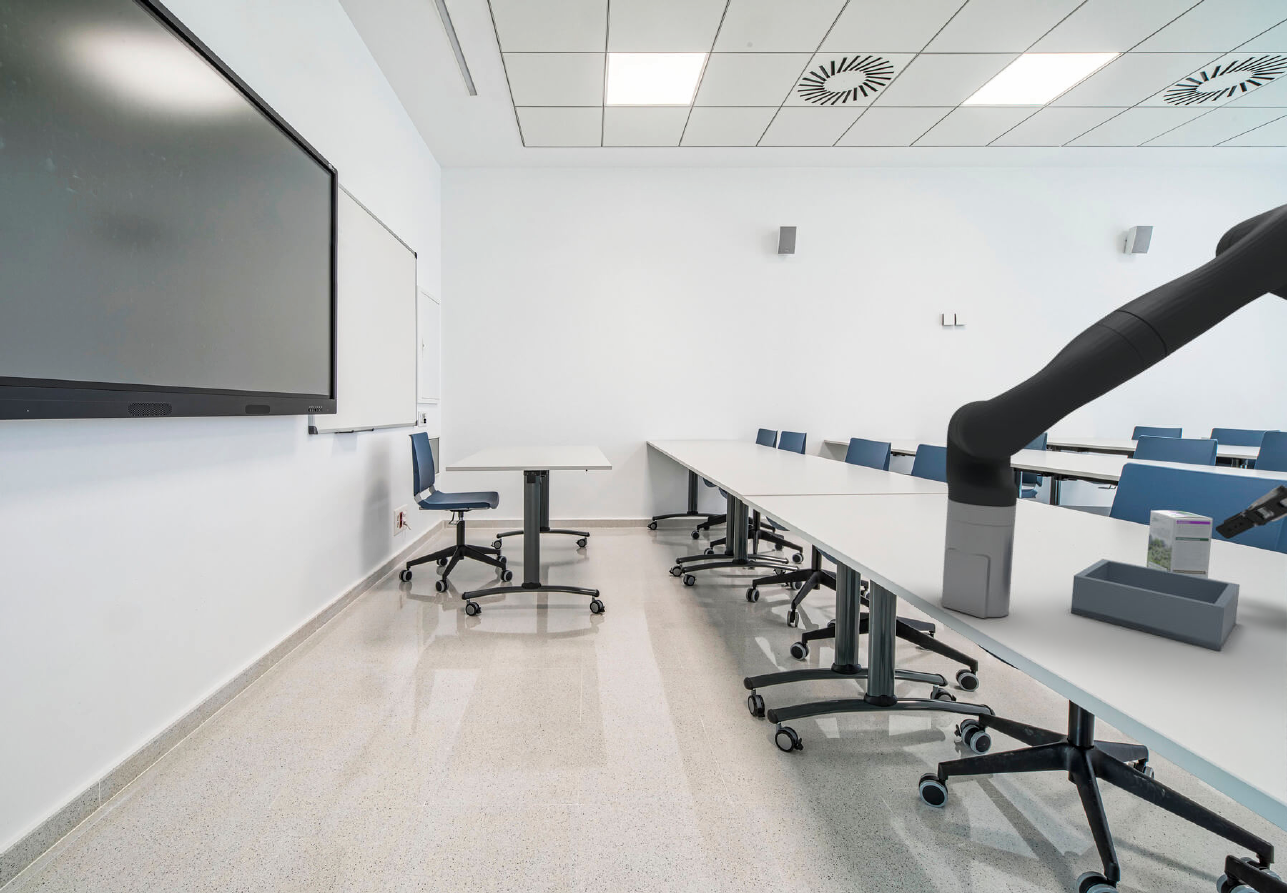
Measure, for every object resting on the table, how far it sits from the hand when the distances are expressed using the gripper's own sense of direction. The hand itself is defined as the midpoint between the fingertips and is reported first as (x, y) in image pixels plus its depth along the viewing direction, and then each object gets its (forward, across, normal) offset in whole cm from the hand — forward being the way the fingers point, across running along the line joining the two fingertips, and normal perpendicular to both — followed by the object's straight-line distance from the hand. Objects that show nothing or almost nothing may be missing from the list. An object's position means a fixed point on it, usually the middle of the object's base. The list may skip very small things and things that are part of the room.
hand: (1224, 530), depth 87 cm
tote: (+12, +17, +5) cm, 22 cm away
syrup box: (+13, 0, +5) cm, 14 cm away
